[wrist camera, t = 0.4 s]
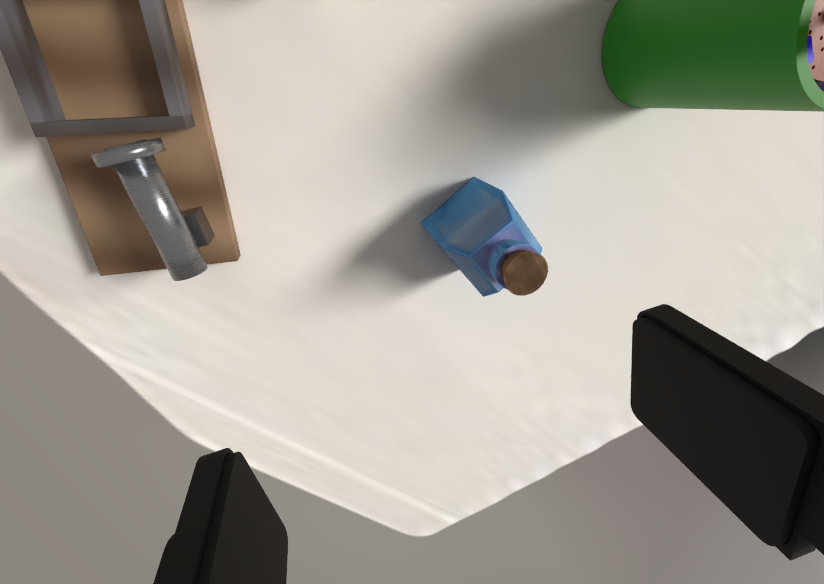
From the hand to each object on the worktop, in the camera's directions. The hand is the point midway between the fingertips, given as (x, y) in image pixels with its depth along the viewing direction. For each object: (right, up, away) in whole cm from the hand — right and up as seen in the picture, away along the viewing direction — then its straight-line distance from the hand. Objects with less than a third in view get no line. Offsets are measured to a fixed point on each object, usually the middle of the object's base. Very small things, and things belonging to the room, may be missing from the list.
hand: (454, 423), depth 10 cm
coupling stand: (-21, +19, +18) cm, 33 cm away
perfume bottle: (+4, +9, +29) cm, 31 cm away
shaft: (-19, +10, +23) cm, 31 cm away
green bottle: (+19, +24, +26) cm, 40 cm away
